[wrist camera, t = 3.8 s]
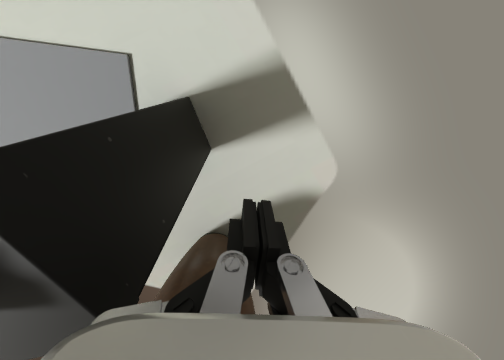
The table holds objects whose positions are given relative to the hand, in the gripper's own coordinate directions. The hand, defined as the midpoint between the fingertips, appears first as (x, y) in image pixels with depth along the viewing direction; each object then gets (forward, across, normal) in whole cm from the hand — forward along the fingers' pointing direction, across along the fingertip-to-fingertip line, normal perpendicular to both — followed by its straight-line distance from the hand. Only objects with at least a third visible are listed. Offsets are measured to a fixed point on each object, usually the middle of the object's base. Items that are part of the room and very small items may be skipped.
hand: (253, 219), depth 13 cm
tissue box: (+19, +10, 0) cm, 22 cm away
